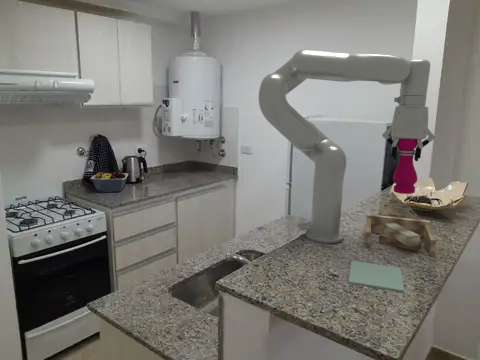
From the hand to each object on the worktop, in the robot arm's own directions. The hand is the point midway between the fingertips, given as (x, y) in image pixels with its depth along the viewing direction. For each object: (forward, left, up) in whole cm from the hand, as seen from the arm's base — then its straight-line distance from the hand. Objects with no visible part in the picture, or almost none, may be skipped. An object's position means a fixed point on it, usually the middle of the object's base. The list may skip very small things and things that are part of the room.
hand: (405, 159), depth 117 cm
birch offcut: (+1, -5, -25) cm, 25 cm away
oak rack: (0, -2, -27) cm, 27 cm away
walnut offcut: (+1, -4, -28) cm, 28 cm away
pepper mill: (+1, 0, -11) cm, 11 cm away
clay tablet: (+3, +28, -28) cm, 39 cm away
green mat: (-7, -30, -27) cm, 41 cm away
